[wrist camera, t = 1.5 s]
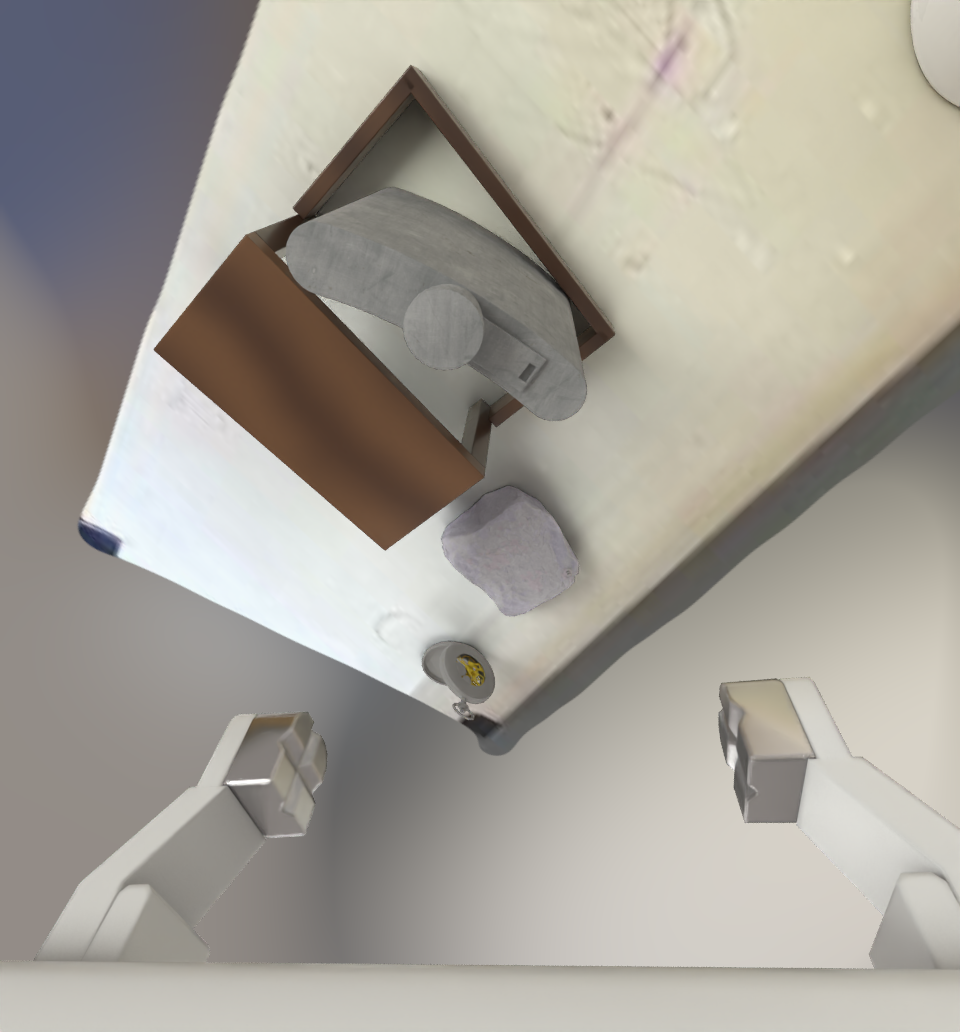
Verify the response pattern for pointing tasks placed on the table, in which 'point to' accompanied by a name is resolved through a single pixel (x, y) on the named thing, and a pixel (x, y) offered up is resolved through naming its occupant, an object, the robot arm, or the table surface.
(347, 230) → the hip flask
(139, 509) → the table surface
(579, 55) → the table surface
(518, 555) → the stone block
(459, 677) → the pocket watch
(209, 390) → the shelf stand
